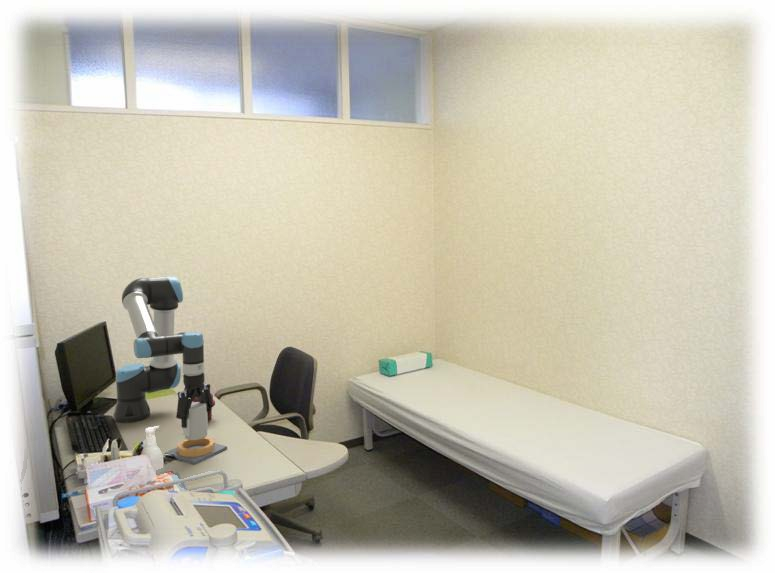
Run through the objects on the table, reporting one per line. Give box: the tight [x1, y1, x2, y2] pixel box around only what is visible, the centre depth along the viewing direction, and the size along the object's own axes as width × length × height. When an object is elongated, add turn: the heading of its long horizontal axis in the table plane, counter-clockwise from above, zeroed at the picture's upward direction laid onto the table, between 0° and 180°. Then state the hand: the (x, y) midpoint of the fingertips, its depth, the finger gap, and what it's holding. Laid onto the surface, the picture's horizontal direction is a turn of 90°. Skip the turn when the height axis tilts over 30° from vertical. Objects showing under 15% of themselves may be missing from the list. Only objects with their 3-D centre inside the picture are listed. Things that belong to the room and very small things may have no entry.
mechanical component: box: [192, 392, 216, 421], centre depth 242 cm, size 12×10×10 cm
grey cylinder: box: [184, 402, 208, 440], centre depth 207 cm, size 8×8×12 cm
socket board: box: [164, 436, 228, 465], centre depth 208 cm, size 16×16×4 cm
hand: (195, 431), depth 208 cm, fingers closed on grey cylinder, 8 cm apart
